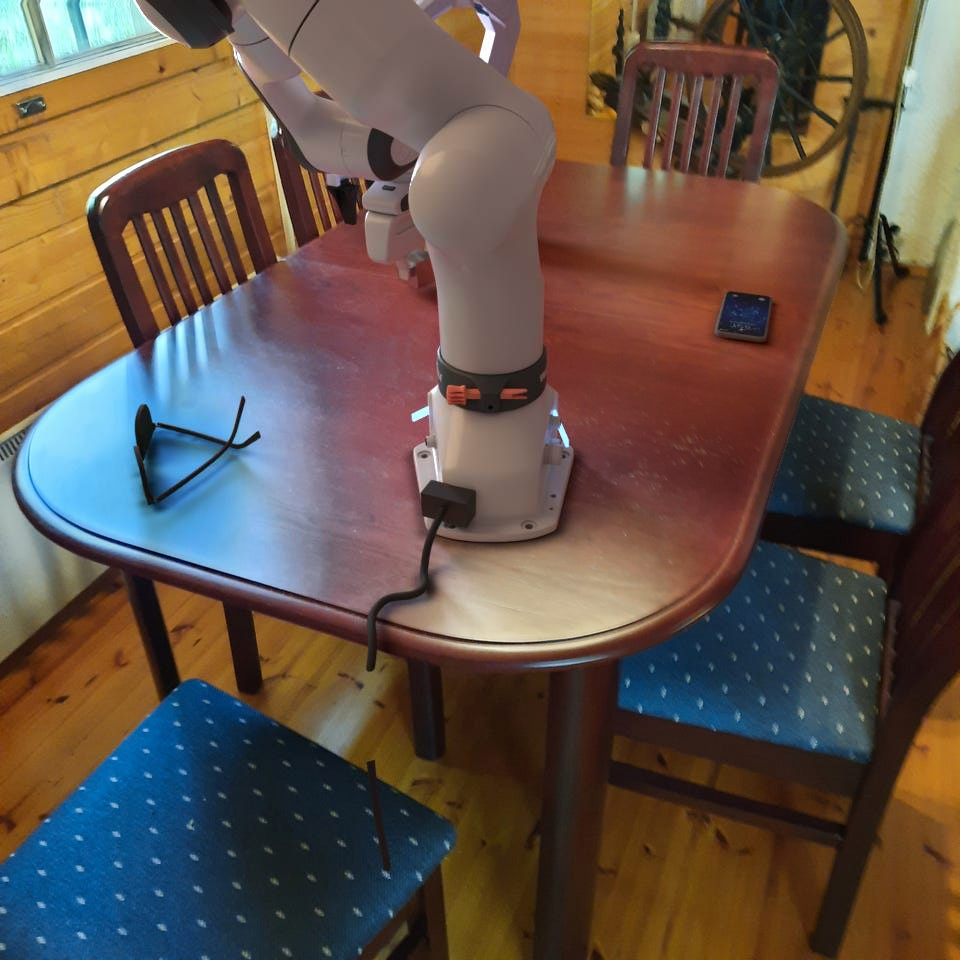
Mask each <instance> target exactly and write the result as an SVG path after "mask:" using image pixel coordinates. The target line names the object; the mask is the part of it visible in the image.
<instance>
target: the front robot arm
mask: <svg viewBox="0 0 960 960" xmlns="http://www.w3.org/2000/svg"><path fill="white" fill-rule="evenodd" d="M133 1H134V3H135V5H136V7H137V8H138V10H139V12H140V13H141V15H142V16H143V17H144V18H145V19H146V21H147V22H148V23H149V25H151V26H152V27H153V28H154V29H155V30H156V31H158V32H159V33H160V34H162V35H163V36H165V37H167V38H168V39H170V40H171V41H174V42H176V43H178V44H181V45H185V47H187V48H188V49H190V50H206V49H209V48H211V47H213V46H215V45H217V44H219V43H220V42H221V41H223V40H224V39H226V40H227V41H228V43H229V44H230V45H231V46H232V47H233V49H232V50H233V55H234V59H235V61H236V64H237V66H238V68H239V70H240V71H241V73H242V75H243V76H244V78H245V79H246V81H247V82H248V84H249V85H250V86H251V88H252V90H253V91H254V92H255V94H256V95H257V97H258V98H259V99H260V101H261V103H262V104H263V105H264V106H265V108H266V109H267V110H268V112H269V114H271V116H272V118H273V119H274V120H275V121H276V123H277V124H278V126H279V128H280V129H281V131H282V133H283V135H284V137H285V139H286V142H287V145H288V147H289V149H290V152H291V154H292V156H293V157H294V159H295V161H296V162H297V164H298V165H299V166H300V167H301V168H302V169H304V170H305V171H307V172H310V173H315V174H325V175H326V174H337V175H343V176H348V177H353V178H355V179H361V180H365V179H367V180H373V181H375V182H374V184H373V185H372V186H371V187H370V188H369V189H368V188H367V190H366V191H365V193H363V195H362V198H361V203H362V207H363V209H364V210H367V213H366V215H365V217H364V234H365V243H366V244H365V245H366V251H367V255H368V257H369V259H370V260H371V262H374V263H377V264H380V265H385V266H390V265H392V264H395V265H396V268H397V267H398V268H399V277H400V278H401V279H403V280H408V279H410V278H412V277H413V267H411V266H409V265H408V262H407V260H408V259H409V253H411V252H412V251H414V250H416V249H417V248H419V249H420V248H421V247H424V249H423V250H424V251H427V252H429V256H430V259H431V263H432V267H433V271H434V276H435V280H436V282H435V287H436V295H437V296H436V297H437V308H438V310H437V311H438V327H439V342H440V343H439V344H440V345H439V346H438V348H437V354H436V356H437V358H436V363H435V364H436V376H437V384H436V385H435V387H434V386H433V388H432V389H431V390H430V391H428V392H427V406H424V407H423V408H421V409H419V410H417V411H415V412H413V413H411V421H412V422H416V421H418V420H420V419H423V418H424V417H426V416H428V424H429V435H426V436H425V438H424V442H422V443H419V444H417V445H416V446H415V447H414V448H413V454H412V455H413V457H412V458H413V464H414V470H415V475H416V476H415V477H416V480H417V487H418V492H419V498H420V499H419V500H420V506H421V516H422V517H423V522H424V526H425V529H426V530H427V531H428V532H427V534H426V537H425V540H424V543H423V547H422V553H421V559H420V566H419V579H420V585H419V586H418V587H417V588H414V589H412V590H409V591H407V590H406V591H400V592H399V591H398V592H392V593H388V594H385V595H383V596H381V597H380V598H379V599H378V600H377V601H376V602H375V603H374V604H373V605H372V606H371V608H370V610H369V612H368V615H367V618H366V631H367V655H366V656H367V657H366V665H365V670H366V672H368V673H372V672H373V671H375V669H376V664H377V657H378V656H377V655H378V636H377V633H378V632H377V617H378V614H379V613H380V612H381V611H382V610H383V608H384V607H385V606H387V605H388V604H390V603H394V602H401V601H409V600H414V599H418V598H419V597H421V596H423V595H424V594H425V593H426V592H427V591H428V589H429V586H430V579H429V566H430V559H431V552H432V548H433V544H434V541H435V538H436V535H437V536H440V537H443V538H448V539H452V540H457V541H466V542H477V543H478V542H480V543H500V542H501V543H502V542H503V543H506V542H518V541H527V540H531V539H536V538H539V537H543V536H546V535H548V534H550V533H552V532H554V531H556V530H557V527H558V525H559V520H560V518H561V517H560V516H561V512H562V508H563V504H564V500H565V497H566V492H567V488H568V483H569V480H570V476H571V472H572V469H573V468H572V467H573V464H574V459H575V450H574V447H573V446H571V445H570V439H569V438H568V435H567V433H566V430H565V428H564V426H563V424H562V416H559V392H557V391H556V390H555V389H554V388H553V387H552V386H551V385H550V384H549V383H548V382H547V379H548V367H549V361H548V356H547V355H548V354H547V353H548V351H547V347H546V345H545V344H544V321H545V320H544V319H545V284H546V283H545V282H546V281H545V278H544V275H543V272H542V268H541V262H540V254H539V243H538V230H537V229H538V228H537V225H538V224H537V223H538V222H537V221H538V220H537V219H538V210H539V204H540V201H541V197H542V192H543V191H544V187H545V186H546V183H547V182H548V180H549V178H550V176H551V174H552V172H553V170H554V167H555V164H556V160H557V154H558V153H557V152H558V148H557V146H558V145H557V144H558V143H557V132H556V128H555V124H554V123H555V122H554V120H553V118H552V115H551V113H550V111H549V109H548V108H547V107H546V105H545V104H544V102H542V100H540V99H539V98H538V97H537V96H536V95H534V94H533V93H531V92H529V91H527V90H525V89H522V88H520V87H518V86H517V85H516V84H514V83H513V82H512V81H511V80H510V79H508V77H507V78H506V77H504V76H503V75H502V74H501V73H499V72H498V71H497V70H496V69H495V68H493V67H492V66H491V65H489V64H488V63H487V62H485V61H484V60H483V59H482V58H480V57H479V56H480V55H478V54H476V53H475V52H473V50H471V49H470V48H468V47H467V46H466V45H464V44H463V43H461V42H460V41H459V40H457V39H456V38H454V36H452V35H451V34H449V33H448V32H447V31H446V30H445V29H443V28H442V27H441V26H440V25H439V24H438V23H437V22H436V21H435V20H434V21H433V20H432V19H431V18H430V17H429V16H428V15H427V14H426V13H425V12H424V11H423V10H422V9H421V8H420V7H419V6H418V5H417V4H416V3H415V2H416V1H415V0H133ZM302 73H305V74H306V76H308V78H309V79H311V80H312V81H313V82H314V83H315V84H316V85H317V86H318V87H319V88H320V89H321V90H322V91H323V92H324V93H325V94H327V95H328V96H329V97H330V98H331V99H328V98H325V97H321V96H319V95H317V94H315V93H314V92H312V91H311V90H310V88H309V87H308V86H307V84H306V82H305V80H304V79H303V77H302V75H301V74H302ZM558 433H559V434H560V437H561V439H562V441H561V439H560V438H558ZM366 770H367V772H366V773H367V781H368V788H369V795H370V802H371V809H372V814H373V821H374V825H375V831H376V836H377V842H378V848H379V852H380V858H381V862H382V868H383V867H384V868H383V871H384V870H386V871H389V870H390V869H391V870H392V865H391V859H390V854H389V849H388V848H389V847H388V842H387V838H386V831H385V827H384V820H383V815H382V814H383V813H382V808H381V802H380V801H381V800H380V794H379V785H378V778H377V777H378V776H377V768H376V759H372V760H367V761H366Z"/></svg>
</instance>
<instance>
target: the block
mask: <svg viewBox="0 0 960 960" xmlns="http://www.w3.org/2000/svg"><path fill="white" fill-rule="evenodd" d="M407 262H408V265H409V266H411V267H413V277H412V278H410V279H408V280H403V279H401V278H400V277H399V268H398V267H397V266H396V276H397V281H398V282H400V283H402V284H404V285H407V286H409V287H411V288H414V289H416V290H419V289H422V288H425V287H427V286H429V285H431V284H435V283H436V280H435V276H434V271H433V267H432V263H431V259H430V256H429V252H427V251H424V249H421V248H420V247H419V248H417V249H416V250H414V251H412V252H411V253H409V259H408V260H407Z"/></svg>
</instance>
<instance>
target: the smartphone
mask: <svg viewBox="0 0 960 960" xmlns="http://www.w3.org/2000/svg"><path fill="white" fill-rule="evenodd" d="M773 302H774V301H773V298H772V297H771V296H769V295H763V294H756V293H749V292H743V291H734V290H729V291H726V292H725V293H724V295H723V299H722V301H721V306H720V310H719V312H718V317H717V319H716V322H715V328H714V334H715V335H716V336H717V337H718V338H719V337H720V338H725V339H732V340H739V341H747V342H754V343H764V342H765V341H767V338H768V333H769V328H770V318H771V313H772V307H773Z"/></svg>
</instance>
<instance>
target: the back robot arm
mask: <svg viewBox="0 0 960 960" xmlns="http://www.w3.org/2000/svg"><path fill="white" fill-rule="evenodd" d="M414 2H415V3H416V4H417V5H418V6H419V7H420V8H421V9H422V10H423V11H424V12H425V13H426V14H427V15H428V16H429V17H430V18H431V19H432V20H433V21H434V22H435V21H436V20H437V19H438V18H440V17H441V16H442V15H444V14H445V13H447V12H449V11H450V10H451V9H455V8H458V9H459V8H464V9H465V8H472V9H473V10H474V11H475V13H476V14H477V16H478V18H479V21H480V22H481V24H482V25H483V27H484V30H485V32H484V36H483V41H482V44H481V48H480V52H479V55H478V56H479V57H480V58H482V59H483V60H484V61H485V62H487V63H488V64H489V65H491V66H492V67H493V68H495V69H496V70H497V71H498V72H499V73H501V74H502V75H503V76H504V77H506V78H507V79H508V77H509V73H510V70H511V66H512V63H513V59H514V58H513V57H514V55H515V52H516V47H517V43H518V40H519V37H520V33H521V27H522V22H521V16H520V9H519V8H520V7H519V3H518V2H519V1H518V0H416V1H414ZM325 176H326V181H325V189H327V191H328V192H329V193H330V195H331V196H332V198H333V200H334V201H335V203H336V205H337V207H338V210H339V212H340V215H341V218H342V220H343V222H344V224H345V225H349V226H356V225H357V221H358V214H357V213H358V210H357V209H358V208H357V205H358V203H357V202H358V195H359V194H358V193H359V190H360V188H361V187H360V184H354V183H352V181H350V179H352V178H354V177H348V176H343V175H337V174H325ZM364 181H365V184H366V188H367V190H368V189H369V188H370V187H371V186H372V185H373V184H374V182H375V181H373V180H367V179H364Z"/></svg>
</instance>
